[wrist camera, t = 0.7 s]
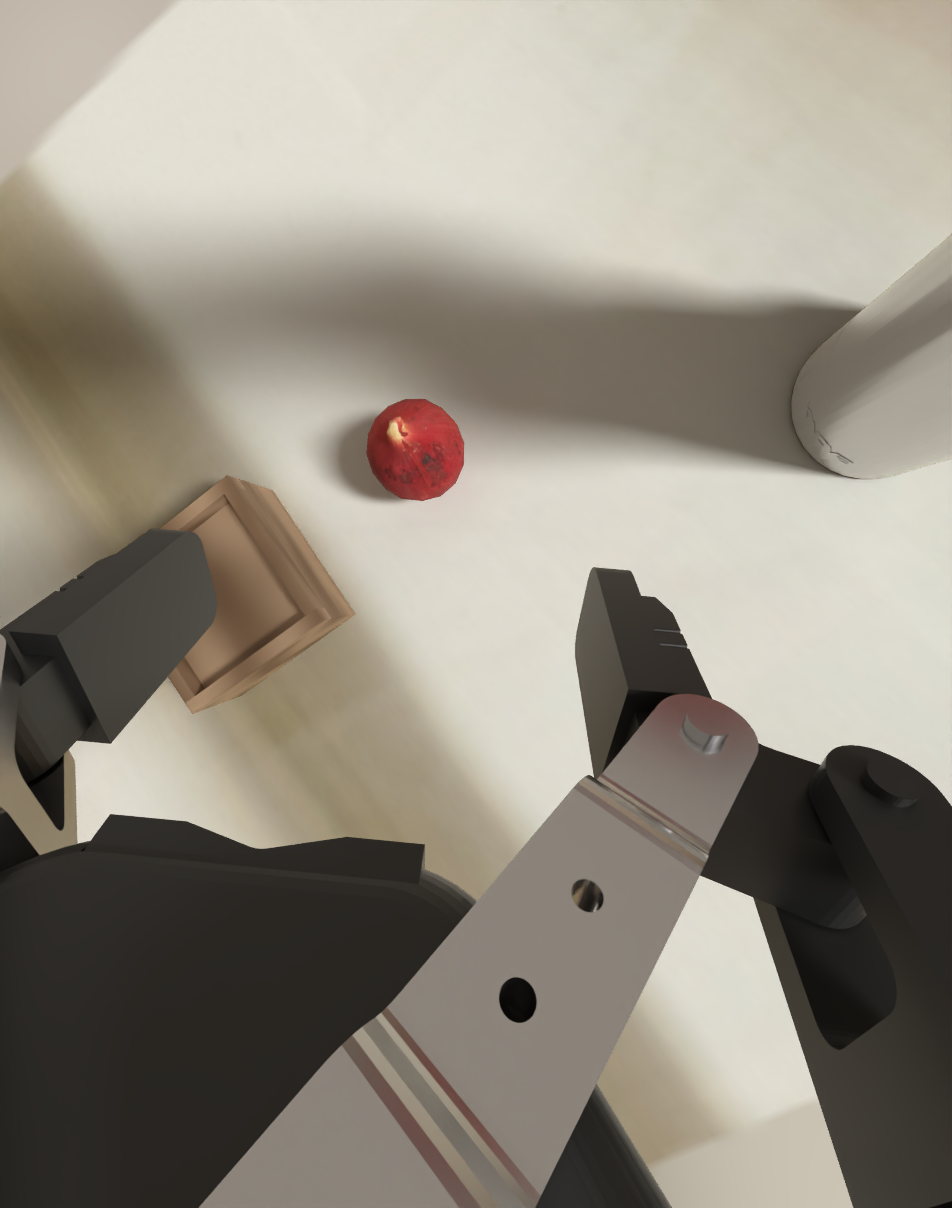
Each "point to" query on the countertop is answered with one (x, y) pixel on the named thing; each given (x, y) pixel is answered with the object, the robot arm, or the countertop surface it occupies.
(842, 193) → the countertop surface
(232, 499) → the wooden tray
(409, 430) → the onion
